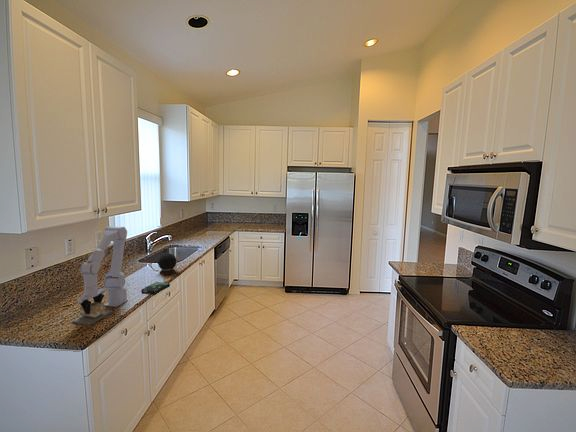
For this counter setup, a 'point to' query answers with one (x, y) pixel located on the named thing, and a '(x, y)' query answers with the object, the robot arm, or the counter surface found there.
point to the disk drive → (155, 288)
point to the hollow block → (93, 309)
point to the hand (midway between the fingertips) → (92, 311)
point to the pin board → (91, 318)
